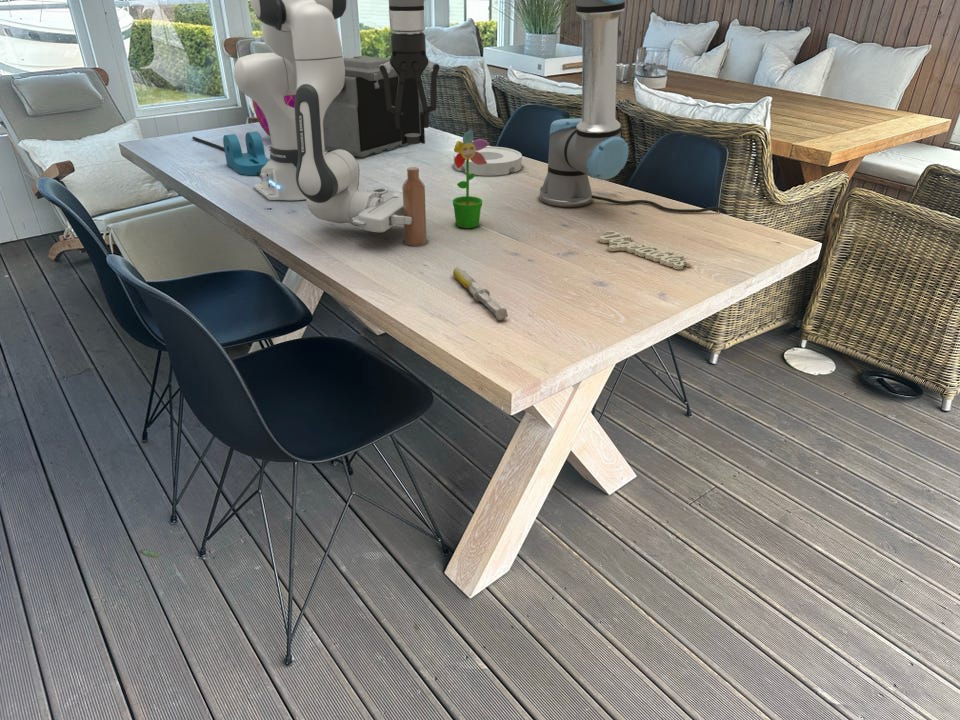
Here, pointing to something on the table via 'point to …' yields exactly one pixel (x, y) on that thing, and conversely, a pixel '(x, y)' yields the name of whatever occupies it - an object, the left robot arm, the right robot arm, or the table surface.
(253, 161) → the camera mount
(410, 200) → the bottle
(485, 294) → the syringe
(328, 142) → the grey and black block
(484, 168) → the ashtray
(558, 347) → the table surface
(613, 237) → the decorative sign
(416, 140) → the cap
